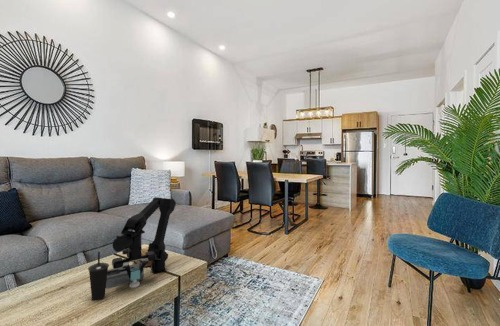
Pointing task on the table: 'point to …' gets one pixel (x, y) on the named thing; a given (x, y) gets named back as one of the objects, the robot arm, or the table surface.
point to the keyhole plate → (120, 276)
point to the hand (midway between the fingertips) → (134, 277)
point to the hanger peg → (134, 277)
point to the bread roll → (144, 254)
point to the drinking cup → (98, 279)
